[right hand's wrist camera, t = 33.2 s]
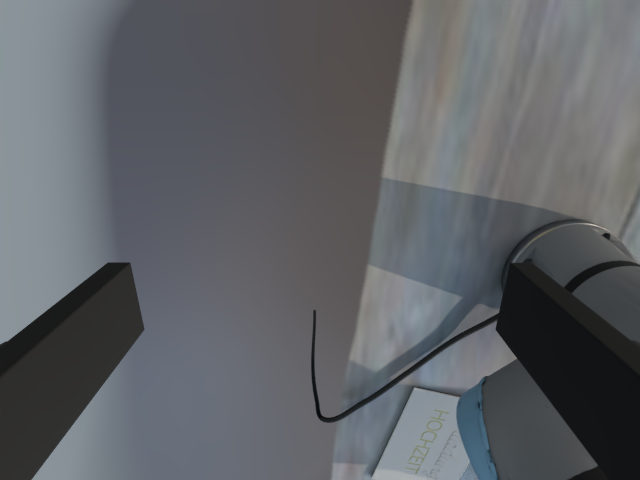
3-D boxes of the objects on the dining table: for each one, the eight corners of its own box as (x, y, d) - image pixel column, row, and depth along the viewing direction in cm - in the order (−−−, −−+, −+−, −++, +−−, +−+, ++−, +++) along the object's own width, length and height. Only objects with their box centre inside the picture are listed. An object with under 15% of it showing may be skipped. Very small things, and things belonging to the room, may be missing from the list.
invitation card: (414, 388, 56) (503, 407, 58) (414, 387, 57) (502, 406, 58) (371, 479, 64) (450, 494, 65) (371, 477, 64) (450, 492, 66)
